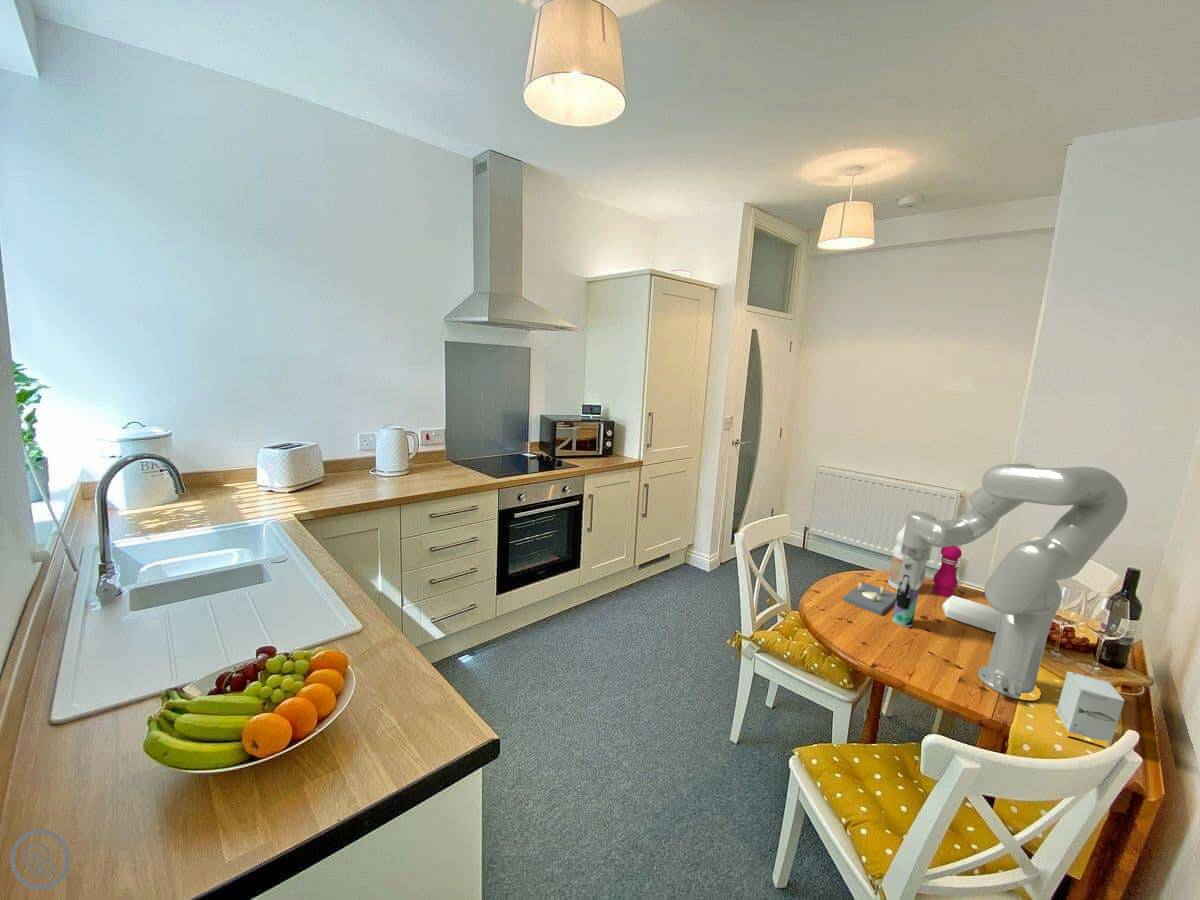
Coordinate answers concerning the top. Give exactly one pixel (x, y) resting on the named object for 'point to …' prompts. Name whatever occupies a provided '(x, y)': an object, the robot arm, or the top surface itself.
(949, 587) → the pepper mill
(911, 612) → the spray can
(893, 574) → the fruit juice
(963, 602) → the white long bar
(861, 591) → the pin board
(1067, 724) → the supplement box
